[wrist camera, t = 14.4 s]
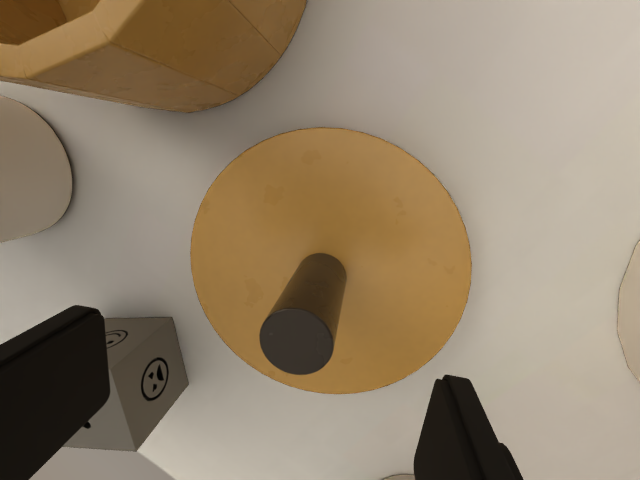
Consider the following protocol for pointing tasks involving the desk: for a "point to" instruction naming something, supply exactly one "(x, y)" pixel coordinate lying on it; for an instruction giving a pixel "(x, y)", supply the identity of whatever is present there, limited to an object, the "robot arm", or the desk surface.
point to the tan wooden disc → (331, 260)
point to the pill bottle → (30, 173)
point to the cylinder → (630, 313)
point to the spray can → (401, 477)
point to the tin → (145, 48)
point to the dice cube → (135, 384)
